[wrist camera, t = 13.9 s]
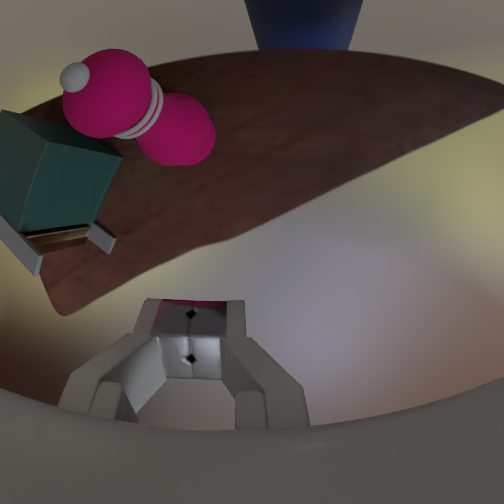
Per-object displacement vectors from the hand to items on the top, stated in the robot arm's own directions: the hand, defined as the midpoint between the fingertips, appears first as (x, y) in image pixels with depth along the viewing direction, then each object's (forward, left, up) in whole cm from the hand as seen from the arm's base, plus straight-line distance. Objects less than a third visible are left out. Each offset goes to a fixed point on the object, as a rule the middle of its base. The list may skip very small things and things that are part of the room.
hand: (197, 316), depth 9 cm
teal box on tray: (+6, -23, -23) cm, 33 cm away
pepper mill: (-5, -13, -23) cm, 27 cm away
